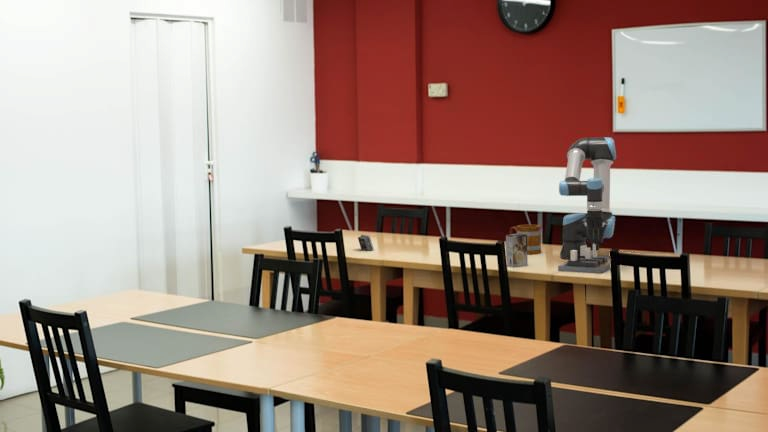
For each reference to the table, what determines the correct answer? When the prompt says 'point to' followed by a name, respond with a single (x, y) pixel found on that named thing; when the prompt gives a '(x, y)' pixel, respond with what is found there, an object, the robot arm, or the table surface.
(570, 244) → the robot arm
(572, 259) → the breaker near
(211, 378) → the table surface
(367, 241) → the electrical switch
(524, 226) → the mug
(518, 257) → the coffee box
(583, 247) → the block
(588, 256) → the block
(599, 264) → the panel
